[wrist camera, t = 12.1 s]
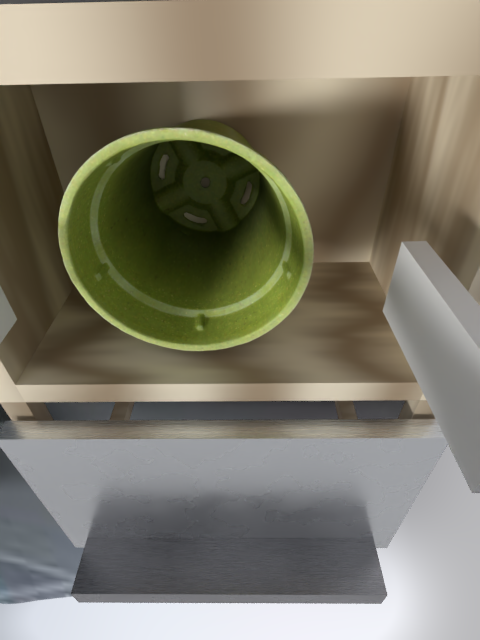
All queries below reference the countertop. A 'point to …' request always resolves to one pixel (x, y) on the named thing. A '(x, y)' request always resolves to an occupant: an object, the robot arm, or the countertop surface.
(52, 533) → the countertop surface
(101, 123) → the housing
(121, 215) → the plant pot
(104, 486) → the lid
